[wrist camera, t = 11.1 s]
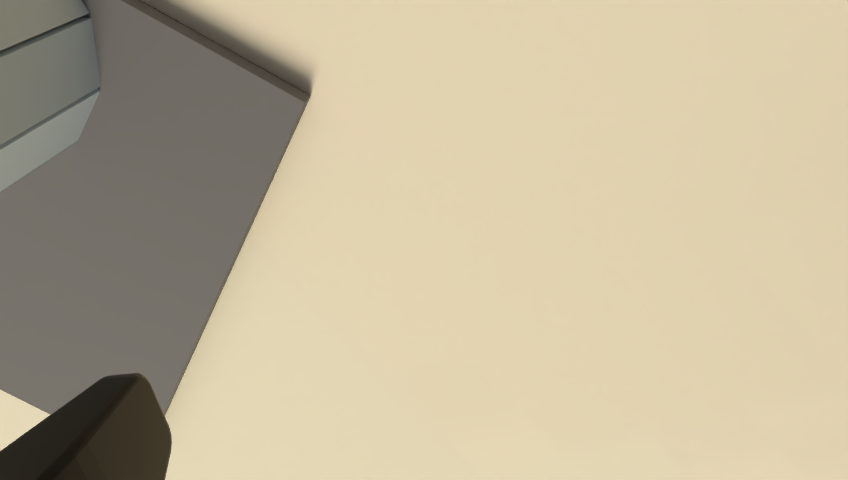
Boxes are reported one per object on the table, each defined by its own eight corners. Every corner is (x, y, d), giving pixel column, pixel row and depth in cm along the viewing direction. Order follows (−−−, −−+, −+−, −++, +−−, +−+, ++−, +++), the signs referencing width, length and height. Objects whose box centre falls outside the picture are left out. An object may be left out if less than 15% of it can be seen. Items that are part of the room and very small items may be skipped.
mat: (310, 95, 20) (304, 102, 19) (149, 449, 27) (142, 460, 27) (-174, -174, 19) (-192, -174, 18) (-201, 274, 26) (-215, 282, 26)
